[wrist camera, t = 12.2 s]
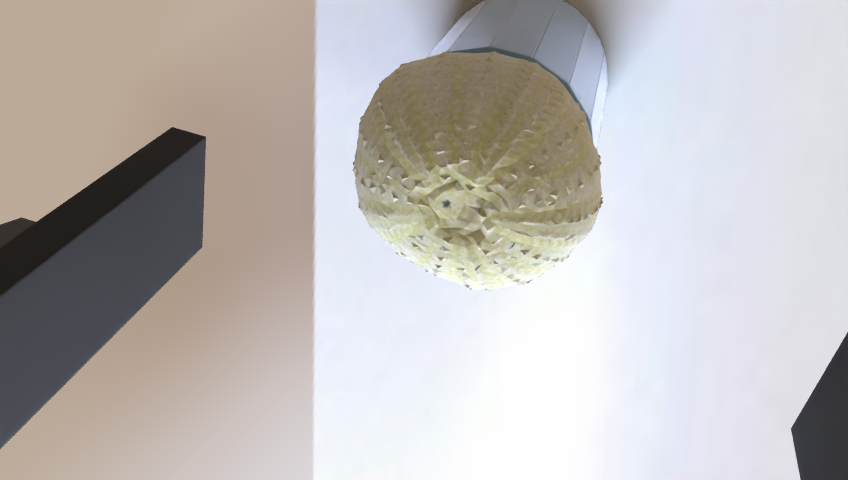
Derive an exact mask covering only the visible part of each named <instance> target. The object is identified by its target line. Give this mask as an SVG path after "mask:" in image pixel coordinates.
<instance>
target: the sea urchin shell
mask: <svg viewBox="0 0 848 480" xmlns="http://www.w3.org/2000/svg"><path fill="white" fill-rule="evenodd" d="M360 120H361V122H360V123H359V137H358V142H357V150H356V154H355V161H354V162H353V165H354V169H353V171H354V174H355V177H356V188H357V193H358V199H359V208H360V209H361V210H362V212H363V214H364V216H365V217H366V219H367V221H368V223H369V225H370V227H371V228H372V229H373V230H374V231H375V232H376V233H377V234H378V235H379V236H380V237H381V238H382V239H383V240H384V241H385V242H387V243H388V244H389V245H390V246H391V247H392V248H393V249H394V250H395V251H396V253H397V254H398V255H399V256H403V257H404V258H405V259H408V260H409V261H411V262H412V263H416V264H417V265H419V266H421V267H422V268H424V269H425V270H426V272H431V273H432V274H433V275H434V276H437V277H441V278H444V279H447V280H450V281H453V282H456V283H458V284H461V285H463V286H466V287H467V288H468V287H469V288H470V290H471V289H486V290H488V291H492V290H495V289H499V288H504V287H508V286H512V285H516V284H525V283H529V282H530V281H532V280H533V279H534V278H537V277H540V276H541V275H542V274H543V273H544V272H545V271H547V270H548V269H550V268H552V267H554V266H555V265H557V264H558V263H559V262H562V261H563V260H564V259H565V258H568V257H569V254H570V253H571V251H572V249H573V248H574V247H575V246H576V245H577V244H578V243H579V242H580V241H582V240H583V239H584V238H585V237H586V236H587V234H588V233H589V232H590V230H591V229H592V227H593V225H594V223H595V220H596V217H597V214H598V211H599V208H600V207H601V204H602V203H603V202H602V199H603V198H602V197H601V194H602V191H601V175H600V165H601V162H600V156H599V155H598V152H597V149H596V148H595V146H594V143H593V139H592V136H591V134H590V130H589V126H588V123H587V121H586V115H585V112H584V111H582V110H581V109H580V106H579V103H577V102H575V101H574V99H573V98H572V96H571V95H570V93H569V92H568V91H567V89H566V88H565V86H564V85H563V84H562V83H561V82H560V81H559V80H558V79H557V77H555V76H554V75H552V74H551V73H550V72H548V71H546V70H545V69H543V68H542V67H541V66H540V65H539V64H538V63H535V62H530V61H527V60H524V59H519V58H514V57H510V56H506V55H503V54H499V53H497V52H496V51H493V52H490V53H461V52H457V53H452V52H449V53H447V52H446V51H444V52H442V53H441V54H438V55H434V56H431V57H428V58H424V59H422V60H417V61H412V62H409V63H405V64H401V65H400V67H399V68H398V69H396V70H395V71H394V72H393V73H392V74H391V75H390V76H388V77H387V78H385V79H384V80H383V81H382V82H381V83H380V84H379V88H378V89H377V91H376V92H375V94H374V96H373V98H372V100H371V102H370V104H369V106H368V108H367V109H366V111H365V113H364V115H363V116H362V117H361V118H360Z"/></svg>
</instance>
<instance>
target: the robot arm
mask: <svg viewBox="0 0 848 480" xmlns="http://www.w3.org/2000/svg"><path fill="white" fill-rule="evenodd" d="M205 149H206V137H205V136H201V135H198V134H194V133H191V132H187V131H184V130H180V129H176V128H173V127H172V128H170V129H169V130H167V131H166V132H165V133H163V134H162V135H161V136H159V137H157V138H156V139H155V140H153V141H152V142H150V143H149V144H147V145H146V146H145V147H143V148H142V149H140V150H139V151H137V152H136V153H134V154H133V155H132V156H130V157H129V158H127V159H126V160H125V161H123V162H122V163H120V164H119V165H117V166H116V167H115V168H113V169H112V170H110V171H109V172H107V173H106V174H105V175H103V176H102V177H100V178H99V179H97V180H96V181H95V182H93V183H92V184H90V185H89V186H88V187H86V188H84V189H83V190H82V191H80V192H79V193H77V194H76V195H74V196H73V197H72V198H70V199H69V200H67V201H66V202H64V203H63V204H62V205H60V206H59V207H57V208H56V209H54V210H53V211H52V212H50V213H49V214H47V215H46V216H44V217H43V218H42V219H40V220H39V221H37V222H34V221H31V220H28V219H25V218H19V219H16V220H13V221H10V222H7V223H4V224H1V225H0V448H2V447H3V446H4V445H5V444H6V443H7V442H8V441H9V440H10V439H11V438H12V437H13V436H14V435H15V434H16V433H17V432H18V431H19V430H20V429H21V428H22V427H23V426H24V425H25V424H26V423H27V422H28V421H29V420H30V419H31V418H32V416H34V415H35V414H36V413H37V412H38V411H39V410H40V409H41V408H42V407H43V405H45V404H46V403H47V402H48V401H49V400H50V399H51V398H52V397H53V396H54V395H55V394H56V393H57V392H58V391H59V390H60V389H61V388H62V387H63V386H64V385H65V384H66V383H67V381H69V380H70V379H71V378H72V377H73V376H74V375H75V374H76V373H77V372H78V370H80V369H81V368H82V367H83V366H84V365H85V364H86V363H87V362H88V361H89V360H90V359H91V358H92V357H93V356H94V355H95V354H96V353H97V352H98V351H99V350H100V349H101V348H102V347H103V346H104V345H105V344H106V342H108V341H109V340H110V339H111V338H112V337H113V336H114V335H115V334H116V333H117V332H118V331H119V330H120V329H121V327H123V326H124V325H125V324H126V323H127V321H129V320H130V319H131V318H132V317H133V316H134V315H135V314H136V313H137V312H138V311H139V310H140V309H141V308H142V307H143V306H144V305H145V304H146V303H147V302H148V301H149V300H150V298H152V297H153V296H154V295H155V294H156V293H157V292H158V291H159V290H160V289H161V288H162V287H163V286H164V285H165V284H166V283H167V282H168V280H170V279H171V278H172V277H173V276H174V275H175V274H176V273H177V272H178V271H179V270H180V268H182V266H183V265H185V263H187V262H188V260H190V259H191V257H193V256H194V255H195V254H196V253H197V251H198V250H200V249H201V248H202V237H203V208H204V177H205ZM791 431H792V436H793V441H794V447H795V452H796V457H797V463H798V468H799V473H800V478H801V480H848V333H847V334H846V336H845V338H844V340H843V341H842V343H841V345H840V346H839V348H838V350H837V351H836V353H835V355H834V357H833V358H832V360H831V362H830V363H829V365H828V367H827V368H826V370H825V372H824V374H823V375H822V377H821V379H820V380H819V382H818V384H817V385H816V387H815V389H814V391H813V392H812V394H811V396H810V397H809V399H808V401H807V402H806V404H805V406H804V408H803V409H802V411H801V413H800V414H799V416H798V418H797V419H796V421H795V423H794V424H793V426H792V428H791Z"/></svg>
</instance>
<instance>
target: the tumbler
mask: <svg viewBox="0 0 848 480" xmlns="http://www.w3.org/2000/svg"><path fill="white" fill-rule="evenodd" d="M444 51H446V52H447V53H449V52H452V53H457V52H461V53H490V52H493V51H496V52H497V53H499V54H503V55H506V56H510V57H514V58H519V59H524V60H527V61H530V62H535V63H538V64H539V65H540V66H541V67H542V68H543V69H545V70H546V71H548V72H550V73H551V74H552V75H554V76H555V77H557V79H558V80H559V81H560V82H561V83H562V84H563V85H564V86H565V88H566V89H567V91H568V92H569V93H570V95H571V96H572V98H573V99H574V101H575V102H577V103H579V106H580V109H581V110H582V111H584V112H585V115H586V121H587V123H588V126H589V130H590V134H591V136H592V139H593V143H594V146H595V148H596V149H597V148H598V142H599V136H600V130H601V124H602V118H603V112H604V105H605V99H606V93H607V87H608V80H607V62H606V56H605V52H604V49H603V46H602V43H601V41H600V39H599V37H598V34H597V33H596V31H595V30H594V28H593V27H592V25H591V24H590V22H589V21H588V20H587V19H586V18H585V17H584V16H583V15H582V14H581V13H580V12H579V11H578V10H577V9H575V8H574V7H573V6H571V5H570V4H568V3H567V2H565V1H563V0H484V1H482V2H480V3H479V4H477V5H476V6H475V7H473V8H472V9H470V10H469V11H468V12H466V13H465V14H463V15H462V16H461V17H460V19H459V20H458V21H457V22H456V23H455V24H454V26H453V27H452V28H451V29H450V30H449V31H448V32H447V34H446V35H445V36H444V37H443V38H442V39H441V41H440V42H439V43H438V44H437V45H436V46H435V48H434V49H433V50H432V51H431V52H430V53H429V54H428V56H427V57H426V58H428V57H431V56H434V55H438V54H441V53H442V52H444Z"/></svg>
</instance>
